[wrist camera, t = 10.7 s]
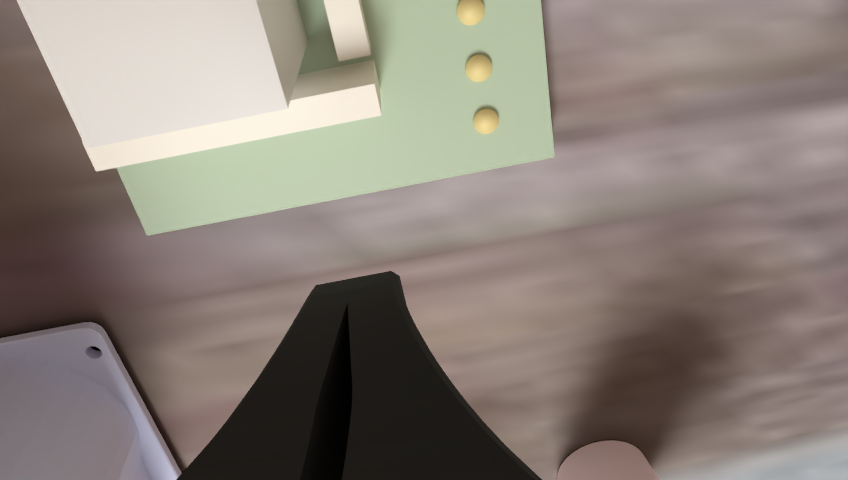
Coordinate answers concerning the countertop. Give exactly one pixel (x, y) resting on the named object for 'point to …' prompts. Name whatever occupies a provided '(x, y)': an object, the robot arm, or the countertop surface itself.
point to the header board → (359, 114)
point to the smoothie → (606, 463)
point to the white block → (167, 61)
